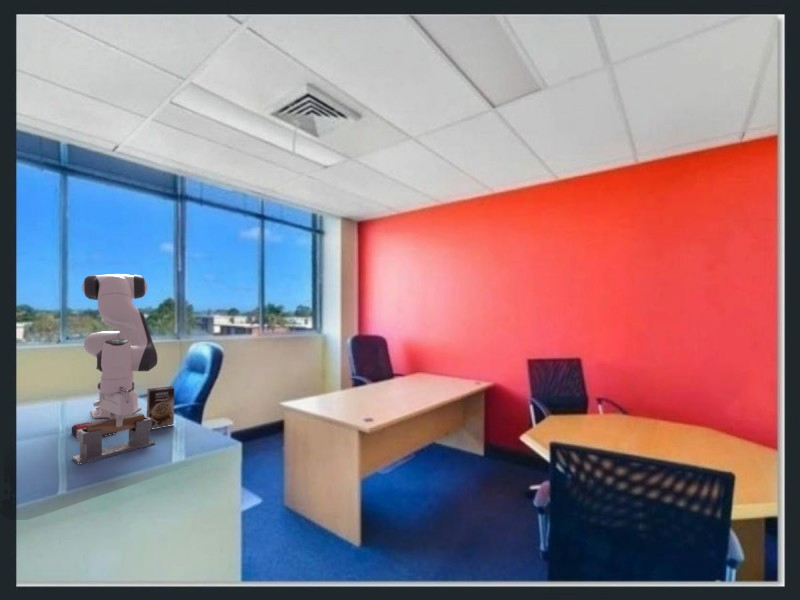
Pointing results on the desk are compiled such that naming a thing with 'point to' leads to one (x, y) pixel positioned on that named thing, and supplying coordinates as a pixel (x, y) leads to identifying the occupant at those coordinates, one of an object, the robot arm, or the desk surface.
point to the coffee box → (160, 406)
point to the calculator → (83, 425)
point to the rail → (110, 427)
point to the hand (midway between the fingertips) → (116, 425)
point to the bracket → (93, 446)
